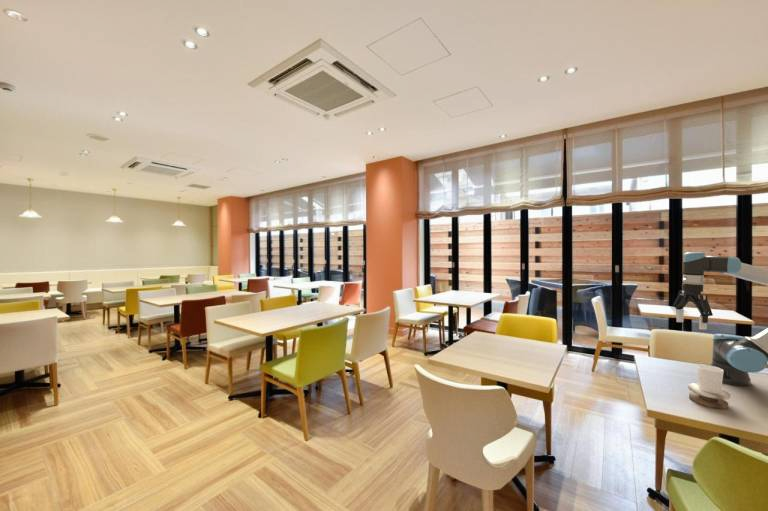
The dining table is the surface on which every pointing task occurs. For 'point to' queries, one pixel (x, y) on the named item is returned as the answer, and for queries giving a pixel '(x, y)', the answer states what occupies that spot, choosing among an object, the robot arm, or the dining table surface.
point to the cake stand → (708, 397)
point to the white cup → (710, 378)
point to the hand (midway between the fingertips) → (690, 325)
